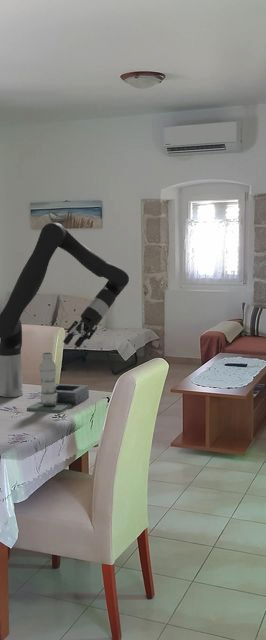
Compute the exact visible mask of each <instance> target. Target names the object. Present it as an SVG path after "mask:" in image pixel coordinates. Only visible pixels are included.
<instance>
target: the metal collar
mask: <svg viewBox="0 0 266 640" xmlns="http://www.w3.org/2000/svg"><path fill="white" fill-rule="evenodd" d="M56 393H57V396H58V401H57V403H60V404H71V406H78V405H80V404H81V403H82V402H84V401H86V400H87V399H89V397H90V396H89V395H90V394H89V385H88V384H87V385H85V384H73V383H72V384H71V383H70V384H69V383H67V384H66V383H56Z"/></svg>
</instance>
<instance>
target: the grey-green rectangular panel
mask: <svg viewBox="0 0 266 640" xmlns="http://www.w3.org/2000/svg"><path fill="white" fill-rule="evenodd" d="M71 407H72V405H71V404H60V403H57V404H56V405H53V406H44V405H42V403H41V401H37V402H36V403H33V404H32V405H31V404H30V406H28V407H26V411H29V412H42V413H44V412H45V413H59V414H62V413H63V412H65V411H67V410H68V409H69V408H71Z"/></svg>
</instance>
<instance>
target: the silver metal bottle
mask: <svg viewBox="0 0 266 640" xmlns="http://www.w3.org/2000/svg"><path fill="white" fill-rule="evenodd" d="M39 374H40V381H41V394H40V402H41V403H42V405H44V406H53V405H56V404H57V401H58V396H57V393H56V384H57V383H56V380H57V379H56V378H57V377H56V376H57V364H56V363H55V361H54V360H53V352H43V353H42V360H41V363H40V364H39Z"/></svg>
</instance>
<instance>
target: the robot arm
mask: <svg viewBox="0 0 266 640" xmlns="http://www.w3.org/2000/svg"><path fill="white" fill-rule="evenodd" d="M58 248H60V249H62V250H64V251H65V252H67V253H68V254H70V255H71V256H72V257H73V258H74V259H75V260H77V261H78V262H79V263H80V265H81V266H83V267H84V268H85V269H87V270H88V271H89V272H91V273H92V274H94V275H95V276H96V277H98V278H104V279H106V280H107V282H106V283H105V285H104V286H103V288H102V289H100V290H99V292H97V294H96V295H95V297H94V298H93V299H91V301H90V302H89V303H88V305H87V307H86V308H85V309H84V310H83V311H82V312H81V314H80V321H78V320H74V321H73V323H72V324H71V325H70V326H69V328H68V329H67V330H66V333H67V336H66V337H65V338H64V340H63V341H62V343H64V344H65V345H69V344H70V342H71V341H72V340H73V338H74V337H76V336H79V335H80V336H79V337H78V338H77V339H76V341H75V342H74V345H75V347H76V348H80V347H81V346H82V344H83V343H84V341H86V340H90V339H91V338H92V337H93V335H94V334H95V333H96V330H98V327H97V326H98V325H99V324H100V323H101V321H102V320H103V318H104V317H105V316H106V314H107V313H108V310H110V307H112V305H113V304H114V302H115V301H116V298H117V297H118V296H119V295H120V294H121V293H122V291H123V290H124V289H125V288H126V287H127V285H128V284H129V281H130V276H129V274H128V273H127V272H126V271H125V270H124V269H122V268H121V267H119V266H117V265H115V264H113V263H111V262H108V261H107V260H105V259H104V258H103V257H102V256H100V255H99V254H97V253H96V252H95V251H93V250H92V249H90V248H88V247H87V246H86V245H84V244H83V243H82V242H80V241H79V240H78V239H77V238H75V237H74V236H73V235H72V234H71V233H70V232H69V231H68V230H67V229H66V228H65V227H64V226H63V224H61V223H59V222H56V221H55V222H53V221H52V222H49V223H47V224H45V225H44V226H43V227H42V228H41V230H40V233H39V236H38V240H37V242H36V245H35V246H34V249H33V251H32V253H31V255H30V256H29V257H28V259H27V262H26V263H25V264H24V266H23V268H22V270H21V272H20V274H19V275H18V278H17V280H16V282H15V284H14V286H13V289H12V291H11V294H9V298H8V300H7V303H6V304H5V306H4V308H3V309H2V311H1V312H0V397H1V396H2V397H1V398H15V397H17V398H18V397H21V396H23V394H24V391H23V388H24V387H23V371H22V368H23V367H22V350H21V349H22V346H23V326H22V321H21V319H20V318H21V316H22V314H23V313H24V311H25V310H26V308H27V306H29V304H30V303H31V302H32V301H33V299H34V298H35V296H36V295H37V293H38V292H39V290H40V289H41V286H42V284H43V282H44V279H45V277H46V274H47V270H48V267H49V264H50V261H51V259H52V257H53V255H54V254H55V252H56V250H57V249H58Z"/></svg>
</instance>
